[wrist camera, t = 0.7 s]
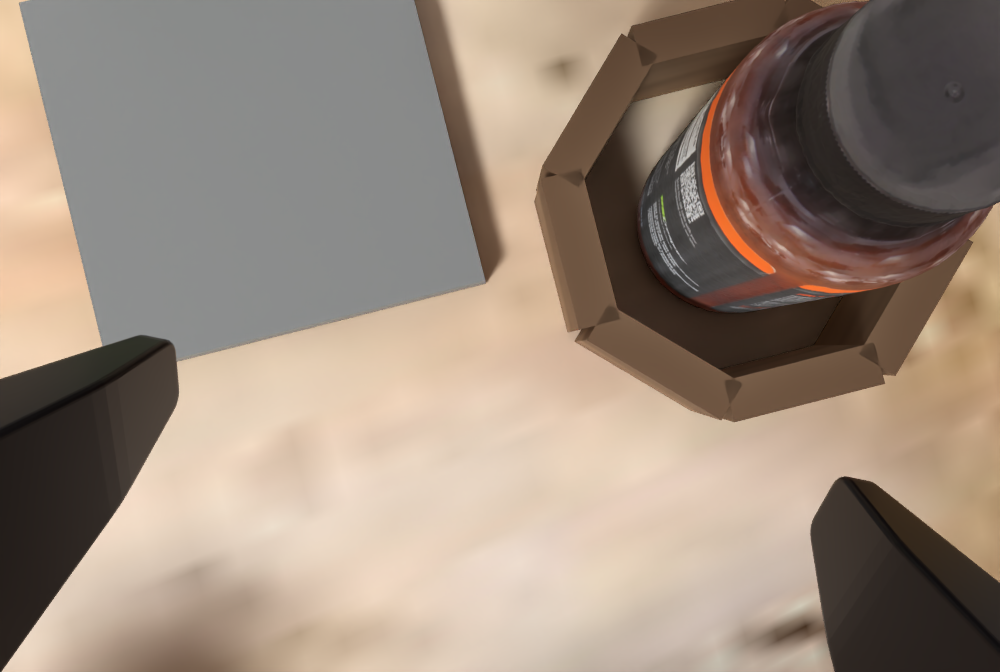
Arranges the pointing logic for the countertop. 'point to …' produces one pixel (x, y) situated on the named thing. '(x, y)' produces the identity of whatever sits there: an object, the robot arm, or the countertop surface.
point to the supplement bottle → (833, 158)
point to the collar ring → (582, 268)
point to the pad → (249, 163)
